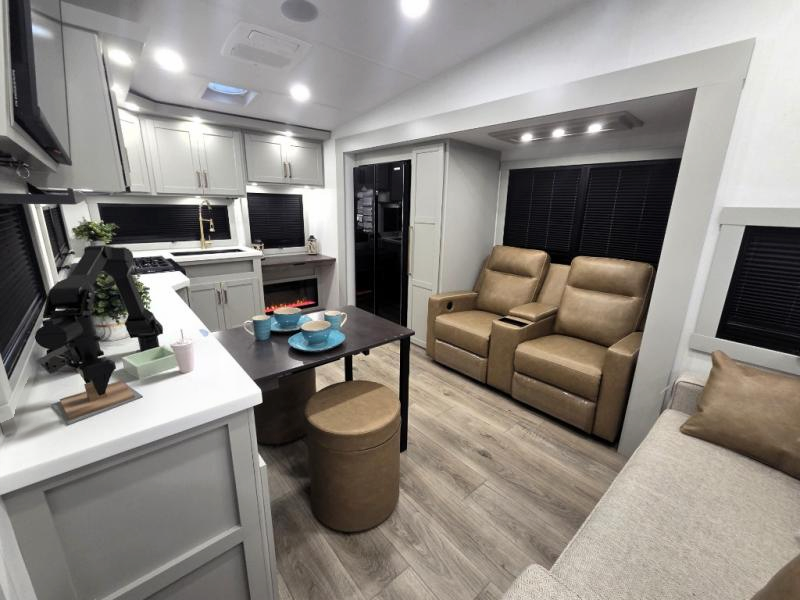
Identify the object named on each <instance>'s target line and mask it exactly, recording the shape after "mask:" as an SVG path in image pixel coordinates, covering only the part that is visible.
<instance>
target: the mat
mask: <svg viewBox="0 0 800 600" xmlns="http://www.w3.org/2000/svg"><path fill="white" fill-rule="evenodd" d="M121 381H122V382H123V383H124V384H125V385H126V386H127V387H128V388H129V389H130V390H131V392H132V393H133V394H134V395H135V398H133V399H130V400H127V401H124V402H121V403H118V404H116V405H113V406H110V407H107V408H104V409H101V410H98V411H95V412H92V413H89V414H87V415H84V416H81V417H78V418H75V419H72V420H69V418H68V416H67V414H66V412H65V410H64V408H63V406H62V404H61V402H60V401H57V402H53V403H51V406H52V405H53V406H52V407H53V408H54V410H55V411H56V410H57V411H56V412H57V413H58V414H59V416H61V418H62V419H63V420H64V421H65V422H66V424H68V426H71V425H72V424H76V423H78V422H81V421H84V420H86V419H88V418H92V417H94V416H97V415H99V414H102V413H105V412H107V411H110V410H112V409H115V408H118V407H120V406H123V405H125V404H126V405H127V404H129V403H131V402H134V401H136V400H139V399H142V398H143V396H144V395H143V394H141V393H139V392H138V391H137V390H135V389H134V388H133V387H131V386H130V385H129V384H127V383H125V382H124V381H123V380H121Z"/></svg>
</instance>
